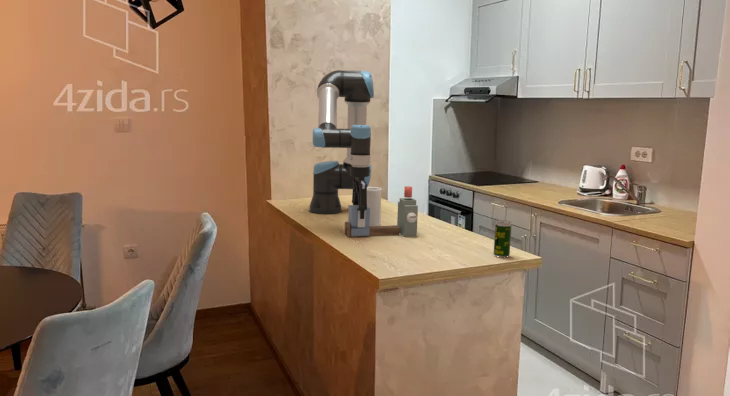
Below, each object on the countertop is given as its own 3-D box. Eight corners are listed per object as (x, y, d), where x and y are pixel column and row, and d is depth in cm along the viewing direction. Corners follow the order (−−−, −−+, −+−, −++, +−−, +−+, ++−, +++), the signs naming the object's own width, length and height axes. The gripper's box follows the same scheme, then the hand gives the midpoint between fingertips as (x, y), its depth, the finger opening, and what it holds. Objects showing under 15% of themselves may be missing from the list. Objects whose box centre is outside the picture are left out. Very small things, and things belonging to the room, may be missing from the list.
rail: (344, 234, 218) (344, 221, 217) (396, 232, 222) (396, 220, 222) (347, 237, 213) (347, 224, 212) (400, 235, 218) (400, 222, 217)
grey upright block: (396, 230, 225) (397, 197, 223) (409, 230, 226) (410, 197, 224) (404, 237, 215) (406, 202, 212) (417, 236, 216) (419, 201, 214)
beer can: (497, 253, 195) (500, 219, 193) (512, 256, 192) (514, 221, 190) (490, 256, 191) (492, 221, 189) (505, 259, 188) (507, 224, 186)
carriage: (348, 232, 219) (348, 205, 217) (365, 231, 220) (366, 204, 218) (351, 236, 212) (352, 208, 211) (369, 235, 214) (370, 207, 212)
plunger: (403, 196, 219) (403, 186, 219) (410, 196, 220) (410, 186, 220) (405, 197, 217) (405, 187, 216) (412, 197, 217) (413, 187, 217)
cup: (378, 229, 228) (379, 190, 225) (358, 227, 229) (359, 189, 226) (381, 224, 236) (383, 187, 233) (362, 223, 237) (363, 186, 234)
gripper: (345, 162, 221) (344, 219, 225) (356, 169, 201) (355, 230, 205) (363, 162, 223) (362, 218, 227) (376, 169, 203) (374, 230, 207)
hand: (358, 224), depth 216 cm, fingers open, 8 cm apart
